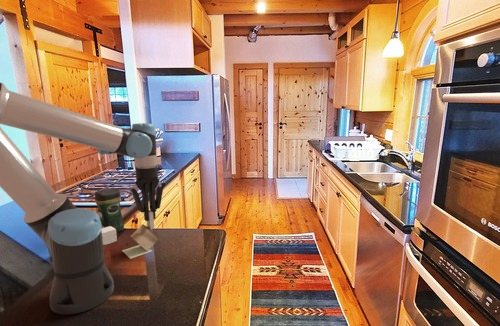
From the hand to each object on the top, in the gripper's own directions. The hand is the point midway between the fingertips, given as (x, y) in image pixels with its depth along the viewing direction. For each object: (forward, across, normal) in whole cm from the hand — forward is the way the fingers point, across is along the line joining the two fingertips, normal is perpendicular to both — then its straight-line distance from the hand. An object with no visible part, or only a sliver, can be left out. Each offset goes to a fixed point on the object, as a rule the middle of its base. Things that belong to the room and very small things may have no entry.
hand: (150, 228), depth 104 cm
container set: (+8, +18, -15) cm, 25 cm away
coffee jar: (+8, +7, -25) cm, 27 cm away
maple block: (+1, 0, 0) cm, 1 cm away
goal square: (+7, +6, 0) cm, 9 cm away
